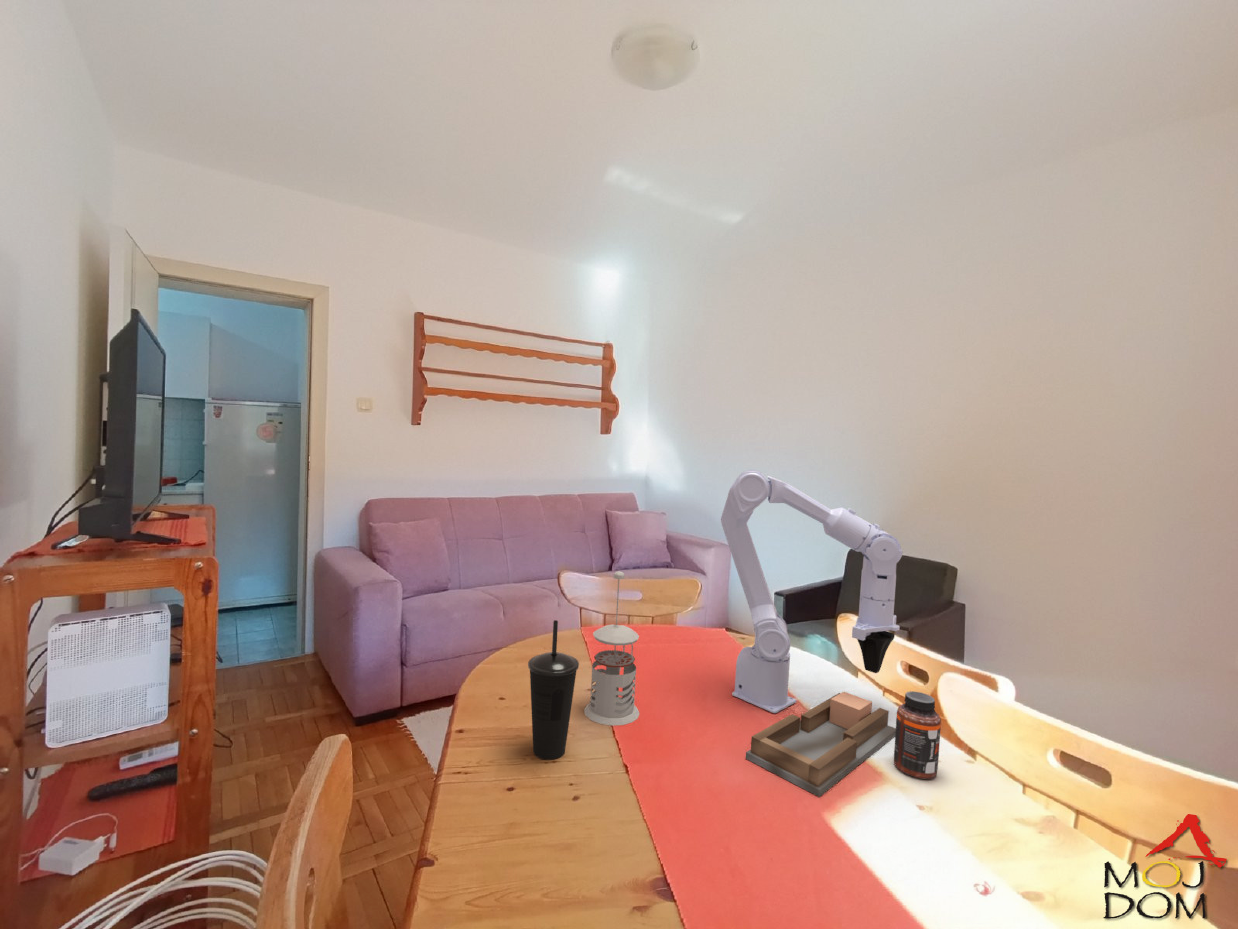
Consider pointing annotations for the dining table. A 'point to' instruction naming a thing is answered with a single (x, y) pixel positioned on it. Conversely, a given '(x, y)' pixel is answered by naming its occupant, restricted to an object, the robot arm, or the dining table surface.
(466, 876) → the dining table surface
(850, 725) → the block
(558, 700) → the drinking cup
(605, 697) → the french press
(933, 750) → the supplement bottle
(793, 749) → the walled tray
